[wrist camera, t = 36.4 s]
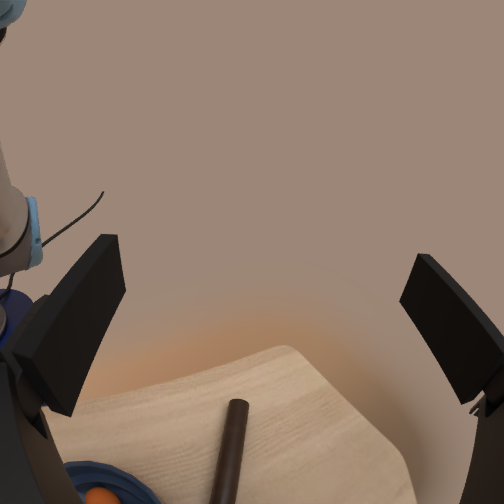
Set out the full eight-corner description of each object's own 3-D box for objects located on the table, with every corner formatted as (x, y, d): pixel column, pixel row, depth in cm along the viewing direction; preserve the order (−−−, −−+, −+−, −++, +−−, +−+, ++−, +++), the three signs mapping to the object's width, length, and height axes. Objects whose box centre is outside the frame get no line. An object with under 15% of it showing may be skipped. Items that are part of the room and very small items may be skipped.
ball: (99, 520, 13) (101, 526, 14) (130, 506, 16) (128, 514, 17) (76, 489, 15) (79, 498, 16) (106, 477, 18) (106, 488, 19)
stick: (225, 399, 33) (196, 542, 15) (244, 397, 32) (220, 546, 14) (234, 409, 34) (210, 545, 16) (252, 407, 33) (232, 548, 15)
